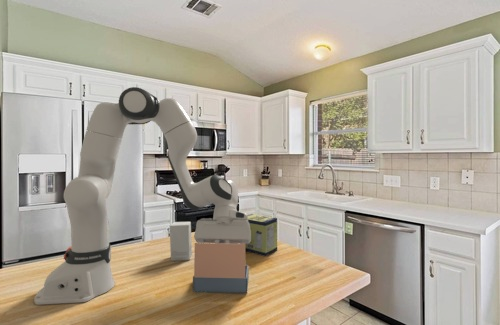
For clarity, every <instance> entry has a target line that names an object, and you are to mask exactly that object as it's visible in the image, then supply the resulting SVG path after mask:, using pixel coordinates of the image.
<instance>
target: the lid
mask: <svg viewBox="0 0 500 325" xmlns="http://www.w3.org/2000/svg"><path fill="white" fill-rule="evenodd" d="M193 257H194V262H193V263H194V265H193V266H194V268H193V273H194V274H193V276H194V277H206V278H245V265H246V251H245V244H240V243H238V244H227V243H197V242H195V243H194V256H193Z"/></svg>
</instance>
